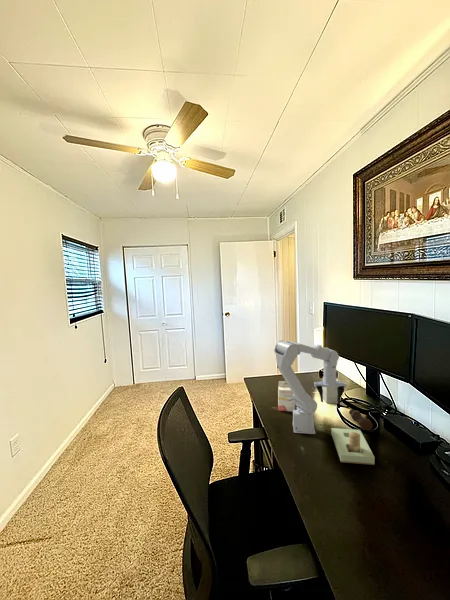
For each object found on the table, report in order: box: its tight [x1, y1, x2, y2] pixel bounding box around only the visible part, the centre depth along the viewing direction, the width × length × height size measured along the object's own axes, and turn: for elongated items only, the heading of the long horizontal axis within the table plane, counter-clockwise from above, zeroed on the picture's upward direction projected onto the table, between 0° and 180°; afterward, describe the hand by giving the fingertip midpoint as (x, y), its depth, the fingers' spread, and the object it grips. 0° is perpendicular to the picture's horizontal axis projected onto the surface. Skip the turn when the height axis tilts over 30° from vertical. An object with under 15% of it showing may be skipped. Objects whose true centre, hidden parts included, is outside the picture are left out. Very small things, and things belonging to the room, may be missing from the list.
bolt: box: [348, 409, 373, 431], centre depth 143 cm, size 6×5×15 cm
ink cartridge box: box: [277, 380, 296, 412], centre depth 158 cm, size 9×5×15 cm, turn 84°
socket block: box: [330, 427, 376, 466], centre depth 122 cm, size 12×20×3 cm, turn 170°
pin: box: [349, 432, 360, 453], centre depth 117 cm, size 4×4×8 cm
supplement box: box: [322, 376, 340, 404], centre depth 168 cm, size 7×7×13 cm
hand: (330, 401), depth 143 cm, fingers open, 7 cm apart
